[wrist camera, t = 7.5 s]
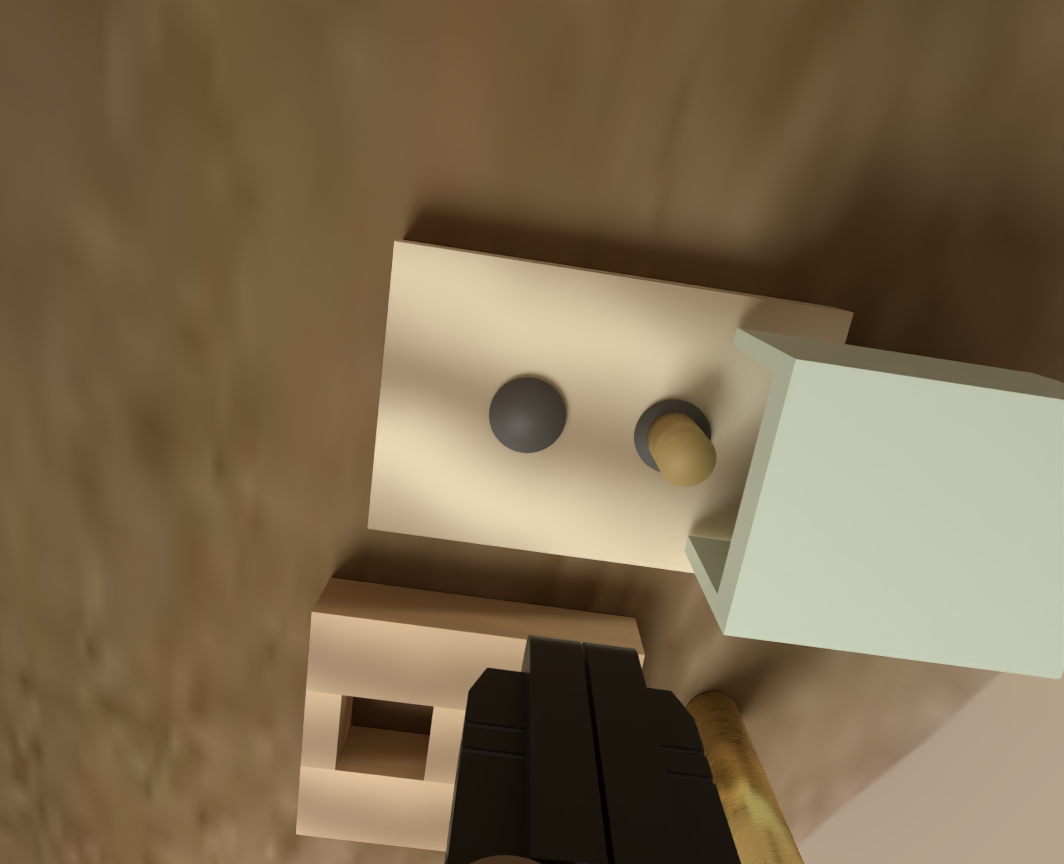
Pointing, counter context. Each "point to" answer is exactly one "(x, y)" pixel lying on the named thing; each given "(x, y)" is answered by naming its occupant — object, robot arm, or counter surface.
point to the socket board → (409, 700)
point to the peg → (742, 783)
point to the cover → (898, 510)
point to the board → (569, 405)
